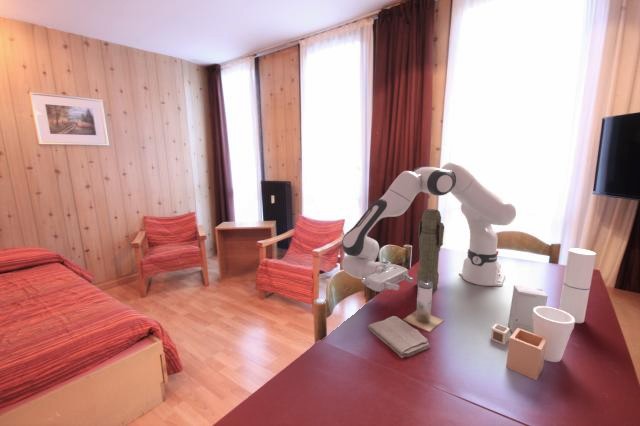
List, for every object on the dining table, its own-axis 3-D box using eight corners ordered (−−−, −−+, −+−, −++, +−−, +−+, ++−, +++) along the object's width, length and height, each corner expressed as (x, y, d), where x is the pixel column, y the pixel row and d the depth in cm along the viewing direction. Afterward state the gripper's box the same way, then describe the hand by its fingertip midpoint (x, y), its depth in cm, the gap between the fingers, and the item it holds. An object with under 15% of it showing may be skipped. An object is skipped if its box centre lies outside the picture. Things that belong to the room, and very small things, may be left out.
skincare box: (511, 333, 97) (516, 291, 94) (507, 323, 103) (512, 284, 100) (542, 338, 94) (548, 295, 91) (536, 328, 100) (542, 287, 97)
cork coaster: (417, 310, 112) (417, 309, 112) (443, 321, 104) (443, 320, 104) (403, 320, 105) (403, 319, 105) (429, 332, 98) (429, 331, 98)
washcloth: (403, 361, 85) (404, 352, 84) (366, 330, 100) (366, 321, 100) (432, 348, 90) (433, 339, 90) (392, 320, 106) (393, 312, 105)
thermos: (433, 294, 125) (439, 213, 118) (410, 285, 134) (414, 209, 127) (444, 288, 130) (450, 210, 124) (421, 279, 139) (425, 207, 133)
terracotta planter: (513, 355, 86) (517, 327, 85) (543, 367, 81) (547, 338, 80) (506, 366, 82) (509, 337, 80) (536, 380, 77) (541, 349, 75)
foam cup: (575, 368, 81) (583, 325, 79) (537, 363, 83) (544, 321, 80) (555, 346, 90) (561, 307, 88) (522, 343, 92) (527, 304, 90)
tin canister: (420, 314, 108) (422, 278, 106) (433, 319, 105) (435, 283, 102) (413, 319, 105) (415, 282, 102) (426, 325, 101) (428, 287, 99)
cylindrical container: (557, 317, 106) (567, 251, 101) (559, 310, 111) (569, 247, 106) (583, 325, 101) (596, 256, 96) (584, 317, 106) (596, 251, 102)
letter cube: (494, 334, 97) (495, 322, 96) (508, 339, 94) (510, 328, 93) (489, 339, 94) (490, 327, 93) (504, 345, 91) (505, 333, 90)
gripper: (358, 272, 111) (389, 284, 101) (390, 260, 124) (420, 269, 114) (358, 288, 112) (388, 301, 102) (389, 274, 125) (419, 284, 115)
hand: (405, 284), depth 108 cm, fingers open, 8 cm apart
